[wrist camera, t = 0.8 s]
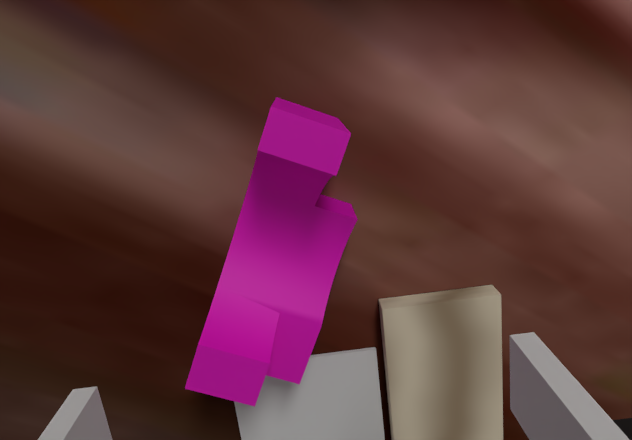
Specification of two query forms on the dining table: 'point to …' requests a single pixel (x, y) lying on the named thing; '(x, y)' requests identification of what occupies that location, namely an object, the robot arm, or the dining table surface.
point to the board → (444, 364)
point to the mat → (319, 402)
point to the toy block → (277, 260)
